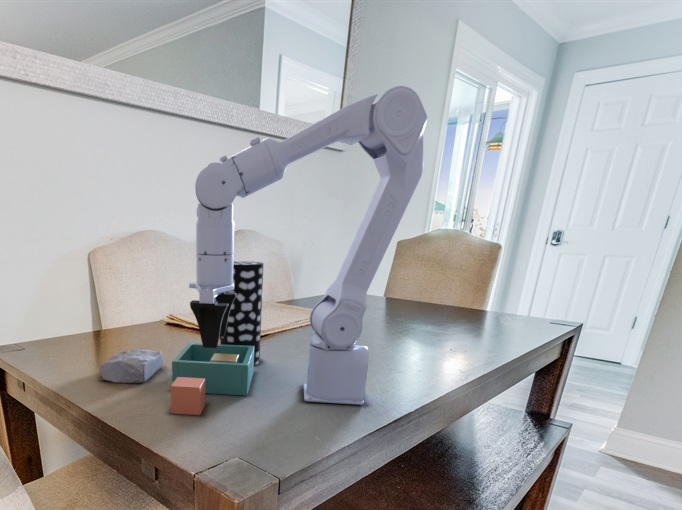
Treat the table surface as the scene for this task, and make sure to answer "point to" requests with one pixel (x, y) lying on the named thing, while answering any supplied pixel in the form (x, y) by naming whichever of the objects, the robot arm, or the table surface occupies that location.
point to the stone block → (131, 366)
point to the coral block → (188, 396)
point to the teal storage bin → (216, 368)
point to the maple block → (225, 358)
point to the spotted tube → (246, 307)
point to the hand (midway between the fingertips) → (214, 341)
